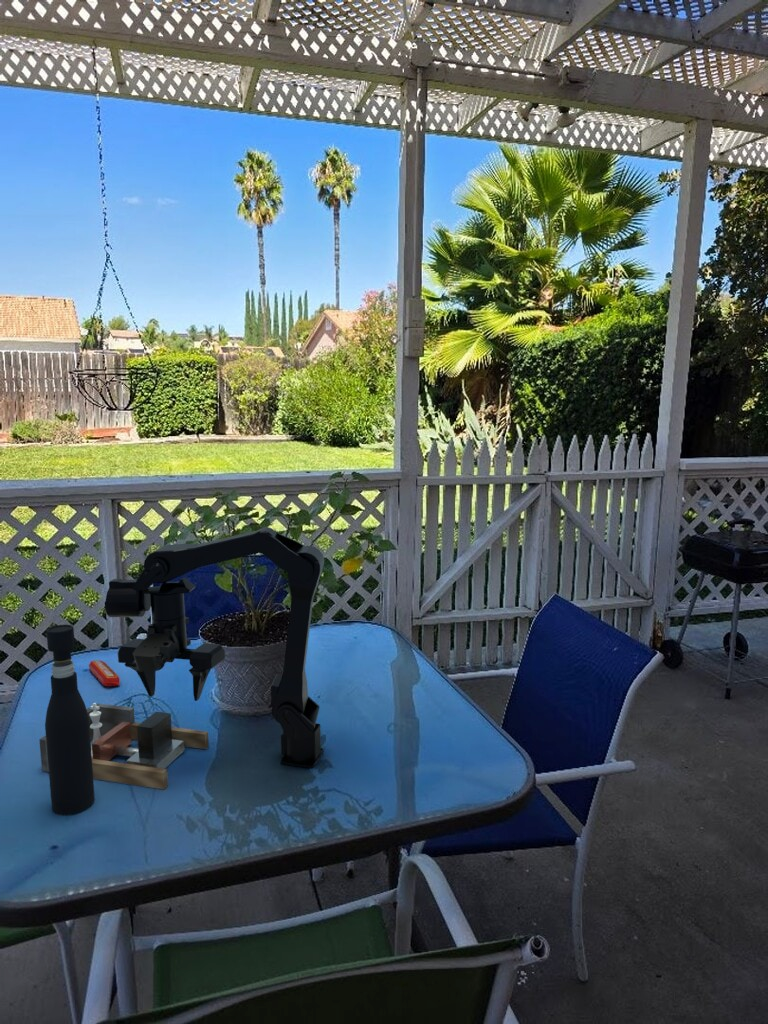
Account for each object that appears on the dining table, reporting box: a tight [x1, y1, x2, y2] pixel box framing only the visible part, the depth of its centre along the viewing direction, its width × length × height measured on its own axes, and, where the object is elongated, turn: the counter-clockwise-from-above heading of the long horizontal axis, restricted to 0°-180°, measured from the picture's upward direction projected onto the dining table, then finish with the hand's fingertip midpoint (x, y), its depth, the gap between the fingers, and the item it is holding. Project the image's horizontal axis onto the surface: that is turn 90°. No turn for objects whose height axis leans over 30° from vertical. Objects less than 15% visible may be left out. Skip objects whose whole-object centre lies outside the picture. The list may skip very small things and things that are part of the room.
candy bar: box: [88, 660, 121, 687], centre depth 163 cm, size 16×4×3 cm, turn 38°
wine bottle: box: [44, 624, 96, 816], centre depth 109 cm, size 6×6×30 cm
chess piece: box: [89, 702, 102, 759], centre depth 127 cm, size 5×5×10 cm
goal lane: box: [38, 702, 210, 790], centre depth 125 cm, size 25×15×6 cm, turn 76°
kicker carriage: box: [91, 711, 185, 769], centre depth 124 cm, size 13×9×8 cm
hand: (174, 698), depth 124 cm, fingers open, 9 cm apart
